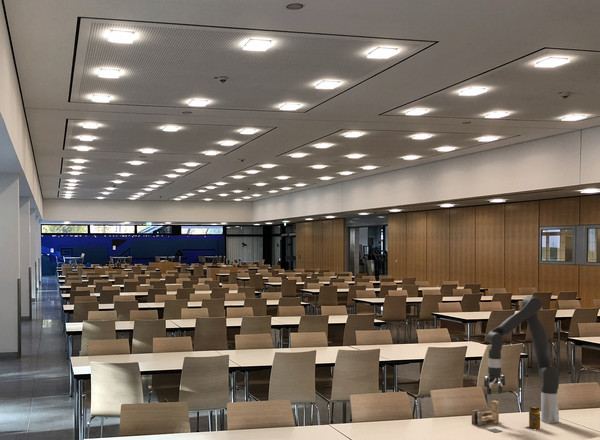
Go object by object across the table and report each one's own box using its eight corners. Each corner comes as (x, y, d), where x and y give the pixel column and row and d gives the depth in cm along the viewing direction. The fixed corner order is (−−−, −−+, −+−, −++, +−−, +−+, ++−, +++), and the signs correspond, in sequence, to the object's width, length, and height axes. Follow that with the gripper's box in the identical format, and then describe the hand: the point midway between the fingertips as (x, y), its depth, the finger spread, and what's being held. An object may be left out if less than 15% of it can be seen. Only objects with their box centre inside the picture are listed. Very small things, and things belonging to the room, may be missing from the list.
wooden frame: (494, 421, 375) (494, 400, 375) (498, 422, 372) (498, 401, 373) (476, 424, 368) (476, 403, 368) (479, 425, 365) (479, 404, 366)
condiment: (543, 428, 362) (543, 407, 362) (534, 431, 357) (534, 409, 357) (532, 425, 368) (532, 404, 368) (523, 427, 363) (523, 406, 364)
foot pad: (494, 428, 360) (494, 428, 360) (502, 431, 355) (502, 431, 355) (487, 430, 358) (487, 429, 358) (494, 432, 352) (494, 432, 352)
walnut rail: (494, 420, 378) (494, 406, 379) (497, 421, 376) (497, 407, 377) (471, 424, 370) (471, 410, 370) (474, 425, 368) (474, 411, 368)
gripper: (498, 364, 381) (498, 391, 380) (481, 365, 374) (481, 393, 374) (508, 366, 374) (508, 393, 373) (490, 368, 368) (490, 396, 367)
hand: (494, 393), depth 373 cm, fingers open, 8 cm apart
